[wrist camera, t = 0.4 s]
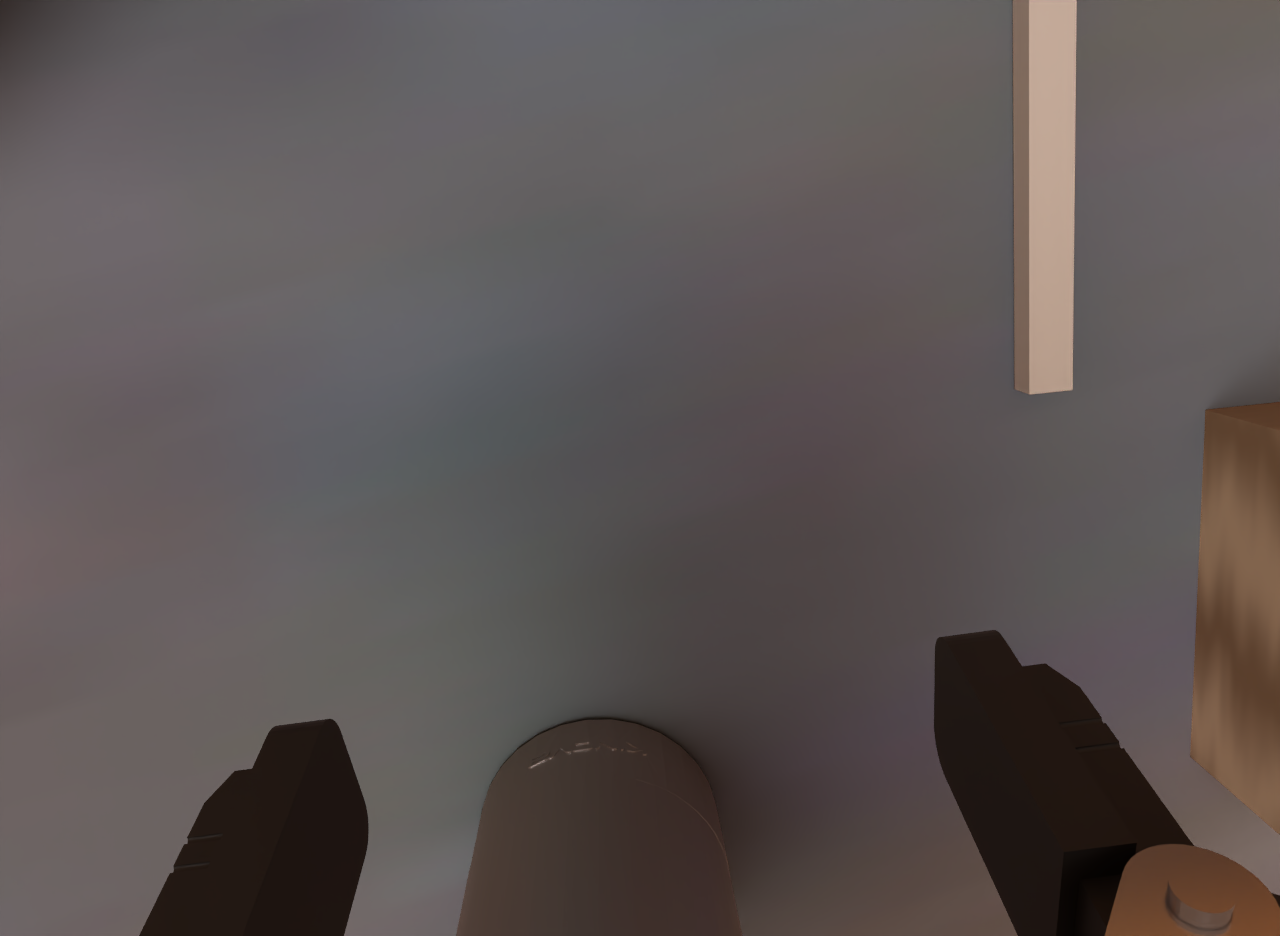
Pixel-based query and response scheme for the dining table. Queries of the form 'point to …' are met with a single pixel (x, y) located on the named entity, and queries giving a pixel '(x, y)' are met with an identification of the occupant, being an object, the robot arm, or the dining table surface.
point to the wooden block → (1240, 608)
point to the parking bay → (1044, 193)
